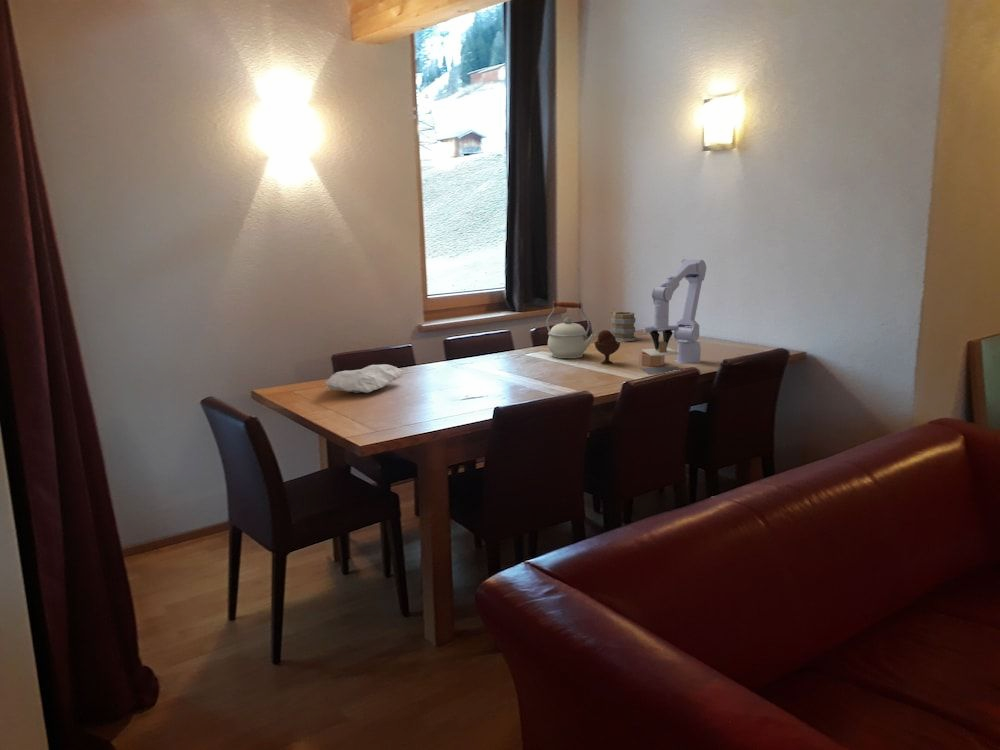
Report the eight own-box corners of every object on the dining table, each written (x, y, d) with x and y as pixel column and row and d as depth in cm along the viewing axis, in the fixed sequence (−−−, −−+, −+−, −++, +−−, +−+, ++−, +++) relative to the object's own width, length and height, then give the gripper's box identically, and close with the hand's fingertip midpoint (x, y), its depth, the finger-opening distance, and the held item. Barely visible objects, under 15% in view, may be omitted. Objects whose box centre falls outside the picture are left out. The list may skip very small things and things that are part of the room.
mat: (676, 367, 317) (676, 366, 317) (687, 373, 306) (687, 372, 306) (639, 369, 315) (639, 368, 315) (649, 375, 304) (649, 374, 303)
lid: (669, 349, 319) (669, 338, 318) (680, 354, 308) (680, 343, 307) (641, 350, 317) (642, 340, 316) (652, 356, 306) (652, 344, 305)
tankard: (639, 341, 380) (640, 311, 377) (616, 343, 377) (617, 313, 374) (622, 335, 399) (623, 307, 396) (600, 336, 396) (600, 308, 393)
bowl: (658, 361, 330) (658, 350, 328) (666, 366, 320) (667, 354, 319) (636, 362, 328) (636, 351, 327) (644, 367, 318) (644, 355, 317)
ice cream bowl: (619, 366, 321) (619, 331, 318) (593, 366, 323) (593, 331, 320) (620, 361, 331) (621, 328, 328) (595, 361, 333) (595, 327, 330)
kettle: (537, 357, 345) (536, 302, 340) (556, 350, 360) (556, 298, 355) (585, 362, 332) (586, 305, 326) (604, 355, 347) (604, 301, 341)
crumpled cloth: (304, 390, 285) (305, 367, 282) (378, 373, 310) (378, 352, 307) (342, 409, 270) (343, 385, 267) (416, 390, 295) (417, 368, 292)
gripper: (647, 318, 304) (647, 351, 307) (682, 316, 307) (681, 349, 310) (642, 315, 311) (641, 348, 314) (675, 314, 313) (674, 346, 316)
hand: (660, 348), depth 312 cm, fingers closed on lid, 3 cm apart
